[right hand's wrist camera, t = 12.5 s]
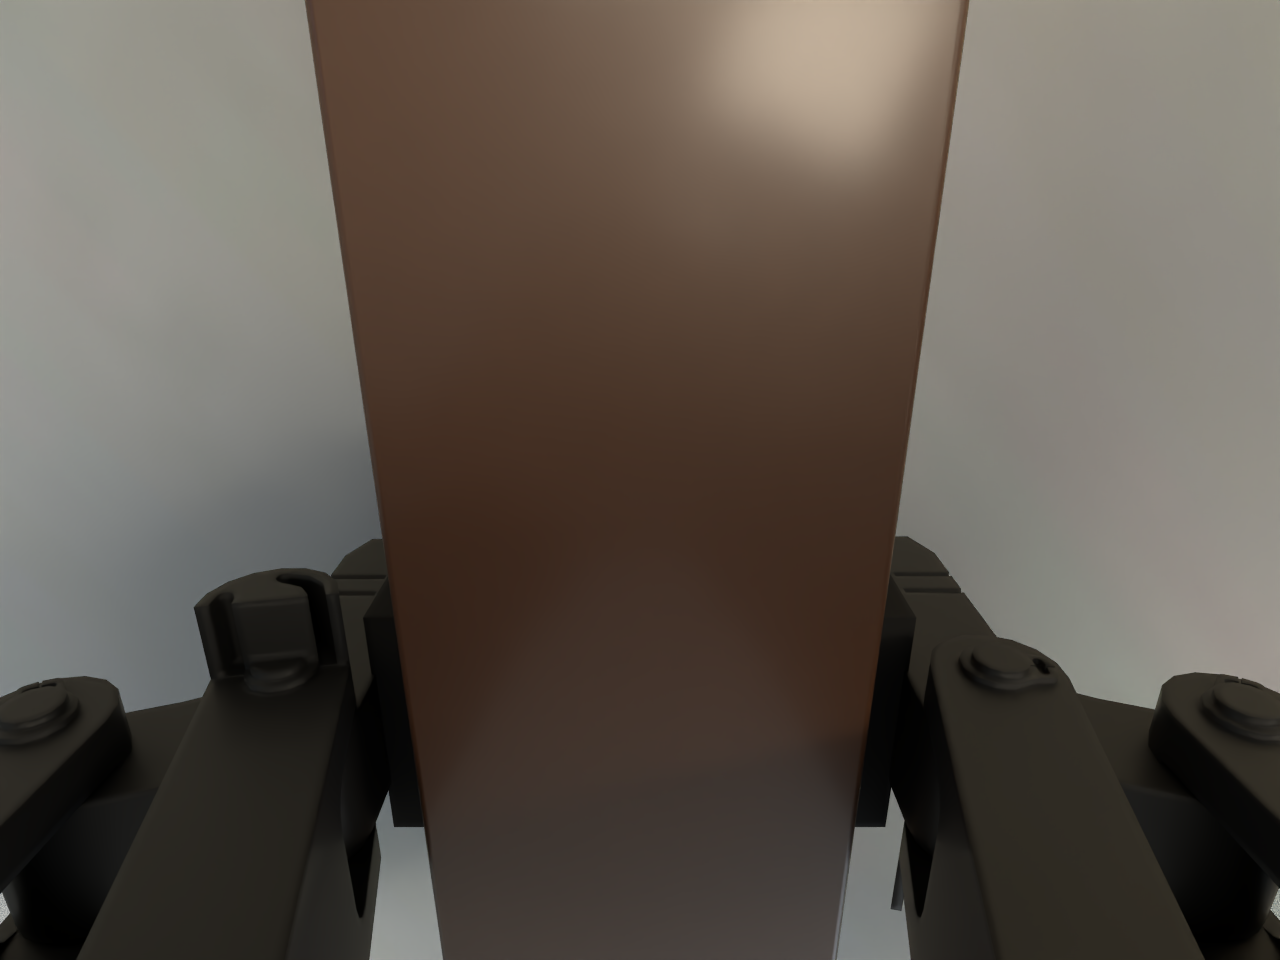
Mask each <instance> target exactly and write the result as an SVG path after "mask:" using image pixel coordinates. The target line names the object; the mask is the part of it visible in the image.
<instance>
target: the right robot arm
mask: <svg viewBox="0 0 1280 960" xmlns="http://www.w3.org/2000/svg"><path fill="white" fill-rule="evenodd" d="M194 610H195V614H196V619H197V623H198V627H199V631H200V635H201V639H202V644H203V648H204V652H205V656H206V660H207V665H208V669H209V673H210V677H211V680H210V682H209V685H208V687H207V689H206V691H205V693H204V695H203V697H201V698H197V699H193V700H189V701H185V702H180V703H175V704H170V705H165V706H160V707H154V708H149V709H144V710H139V711H134V712H129V713H125V711H124V707H123V704H122V700H121V697H120V694H119V690H118V688H116V687H115V686H114V685H112V684H111V683H110V682H109V681H107V680H105V679H99V678H93V677H87V676H81V677H70V678H55V679H50V680H44V681H42V683H39V682H36V683H33V684H30V685H27V686H24V687H21V688H19V689H18V690H17V691H15V692H12V693H10V694H8V695H5V696H3V697H1V698H0V893H1V892H2V893H3V896H4V898H5V901H6V903H7V906H8V908H9V911H10V914H9V915H8V916H7V917H6V919H5V920H4V921H3V922H2V923H1V924H0V960H369V957H370V949H371V940H372V931H373V923H374V914H375V905H376V897H377V888H378V879H379V871H380V862H381V854H380V847H379V841H378V834H377V828H376V820H377V818H378V815H379V813H380V810H381V808H382V805H383V802H384V800H385V797H386V795H387V792H388V790H389V796H390V803H391V809H392V816H393V823H394V827H424V823H423V816H422V809H421V802H420V795H419V788H418V781H417V775H416V768H415V761H414V754H413V747H412V740H411V733H410V726H409V719H408V712H407V705H406V698H405V691H404V684H403V677H402V671H401V664H400V657H399V650H398V643H397V636H396V629H395V622H394V615H393V608H392V601H391V594H390V587H389V580H388V573H387V567H386V560H385V553H384V546H383V539H372V540H370V541H368V542H367V543H365V544H364V545H362V546H360V547H359V548H357V549H356V550H354V551H352V552H351V553H349V554H348V555H346V556H345V557H344V558H343V560H342V561H341V563H340V564H339V565H338V567H337V568H336V569H335V571H334V572H333V573H332V575H331V577H330V576H329V575H328V574H326V573H324V572H320V571H315V570H311V569H306V568H281V569H275V570H269V571H264V572H258V573H253V574H250V575H247V576H244V577H241V578H238V579H235V580H232V581H229V582H227V583H225V584H224V585H222V586H220V587H218V588H216V589H215V590H213V591H211V592H209V593H207V594H206V595H205V596H204V597H203V598H202V599H201V600H200V601H199V602H198V603H197V604H196V606H195V607H194ZM891 787H892V790H893V792H894V795H895V797H896V800H897V802H898V805H899V807H900V810H901V812H902V815H903V817H904V820H905V822H904V828H903V834H902V841H901V847H900V853H899V859H898V866H897V872H896V878H895V884H894V891H893V897H892V904H891V909H894V910H900V911H901V910H902V905H903V899H904V903H905V912H906V921H907V929H908V938H909V947H910V955H911V960H1280V920H1279V919H1278V918H1277V917H1276V916H1275V915H1274V913H1273V912H1272V911H1271V910H1270V909H1271V906H1272V904H1273V901H1274V899H1275V896H1276V894H1277V891H1278V889H1279V888H1280V693H1277V692H1275V691H1273V690H1270V689H1268V688H1265V687H1264V686H1263V685H1261V684H1259V683H1257V682H1253V681H1250V680H1247V679H1244V678H1242V679H1238V677H1235V676H1230V675H1225V674H1208V673H1196V672H1195V673H1189V674H1183V675H1177V676H1173V677H1172V678H1171V679H1170V680H1168V681H1167V682H1166V683H1164V684H1163V685H1162V688H1161V691H1160V694H1159V698H1158V701H1157V705H1156V708H1155V709H1149V708H1144V707H1139V706H1134V705H1128V704H1123V703H1118V702H1113V701H1108V700H1102V699H1097V698H1093V697H1089V696H1085V695H1081V694H1077V693H1076V691H1075V689H1074V687H1073V685H1072V683H1071V681H1070V679H1069V678H1068V676H1067V675H1066V674H1065V673H1064V671H1063V670H1062V669H1061V668H1060V666H1059V665H1058V664H1057V663H1056V662H1054V661H1053V660H1051V659H1050V658H1048V657H1047V656H1045V655H1044V654H1042V653H1041V652H1039V651H1038V650H1036V649H1033V648H1031V647H1028V646H1025V645H1023V644H1020V643H1018V642H1015V641H1013V640H1008V639H1003V638H998V637H996V635H995V634H994V633H993V631H992V630H991V629H990V627H989V626H988V625H987V623H986V622H985V620H984V619H983V618H982V616H981V615H980V614H979V612H978V611H977V610H976V608H975V607H974V606H973V604H972V603H971V602H970V600H969V599H968V598H967V596H966V595H965V594H964V593H961V588H960V587H959V586H958V584H957V583H956V581H955V580H954V579H953V577H952V576H949V572H948V571H947V569H946V568H945V567H944V565H943V564H942V563H941V561H940V560H939V559H938V557H937V556H936V555H935V553H933V552H932V551H930V550H929V549H927V548H925V547H924V546H922V545H920V544H919V543H917V542H916V541H914V540H912V539H911V538H909V537H895V541H894V548H893V555H892V563H891V570H890V577H889V584H888V591H887V599H886V606H885V613H884V620H883V627H882V635H881V642H880V649H879V656H878V663H877V671H876V678H875V685H874V692H873V699H872V707H871V714H870V721H869V728H868V736H867V743H866V750H865V757H864V764H863V772H862V779H861V786H860V793H859V800H858V808H857V815H856V822H855V827H885V826H886V819H887V812H888V806H889V799H890V792H891Z"/></svg>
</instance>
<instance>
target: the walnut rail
mask: <svg viewBox="0 0 1280 960" xmlns="http://www.w3.org/2000/svg"><path fill="white" fill-rule="evenodd" d="M305 5H306V12H307V19H308V26H309V33H310V40H311V47H312V53H313V60H314V67H315V74H316V81H317V88H318V95H319V102H320V109H321V116H322V123H323V130H324V137H325V144H326V151H327V157H328V164H329V171H330V178H331V185H332V192H333V199H334V206H335V213H336V220H337V227H338V234H339V241H340V248H341V255H342V261H343V268H344V275H345V282H346V289H347V296H348V303H349V310H350V317H351V324H352V331H353V338H354V345H355V352H356V359H357V365H358V372H359V379H360V386H361V393H362V400H363V407H364V414H365V421H366V428H367V435H368V442H369V449H370V456H371V463H372V469H373V476H374V483H375V490H376V497H377V504H378V511H379V518H380V525H381V532H382V539H383V546H384V553H385V560H386V567H387V573H388V580H389V587H390V594H391V601H392V608H393V615H394V622H395V629H396V636H397V643H398V650H399V657H400V664H401V671H402V677H403V684H404V691H405V698H406V705H407V712H408V719H409V726H410V733H411V740H412V747H413V754H414V761H415V768H416V775H417V781H418V788H419V795H420V802H421V809H422V816H423V823H424V830H425V837H426V844H427V851H428V858H429V865H430V872H431V879H432V885H433V892H434V899H435V906H436V913H437V920H438V927H439V934H440V941H441V948H442V955H443V960H836V959H837V952H838V944H839V937H840V930H841V923H842V916H843V908H844V901H845V894H846V887H847V880H848V872H849V865H850V858H851V851H852V844H853V836H854V829H855V822H856V815H857V808H858V800H859V793H860V786H861V779H862V772H863V764H864V757H865V750H866V743H867V736H868V728H869V721H870V714H871V707H872V699H873V692H874V685H875V678H876V671H877V663H878V656H879V649H880V642H881V635H882V627H883V620H884V613H885V606H886V599H887V591H888V584H889V577H890V570H891V563H892V555H893V548H894V541H895V534H896V527H897V519H898V512H899V505H900V498H901V491H902V483H903V476H904V469H905V462H906V454H907V447H908V440H909V433H910V426H911V418H912V411H913V404H914V397H915V390H916V382H917V375H918V368H919V361H920V354H921V346H922V339H923V332H924V325H925V318H926V310H927V303H928V296H929V289H930V282H931V274H932V267H933V260H934V253H935V246H936V238H937V231H938V224H939V217H940V209H941V202H942V195H943V188H944V181H945V173H946V166H947V159H948V152H949V145H950V137H951V130H952V123H953V116H954V109H955V101H956V94H957V87H958V80H959V73H960V65H961V58H962V51H963V44H964V37H965V29H966V22H967V15H968V8H969V0H305Z"/></svg>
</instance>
